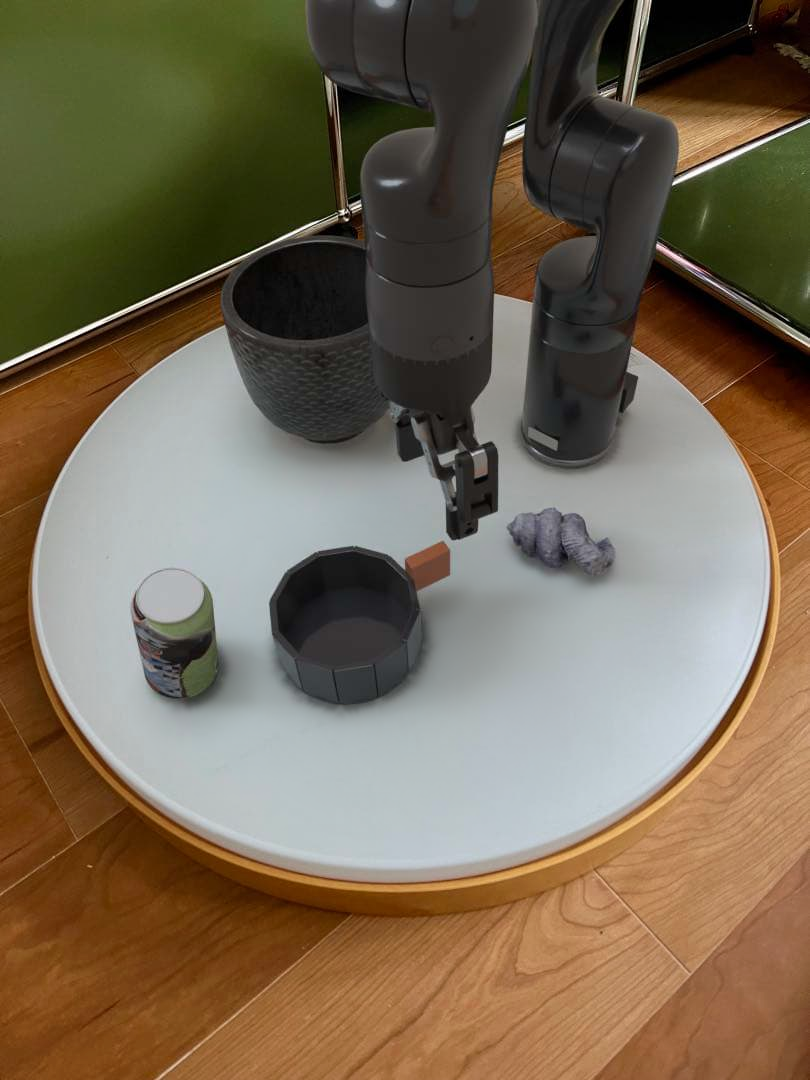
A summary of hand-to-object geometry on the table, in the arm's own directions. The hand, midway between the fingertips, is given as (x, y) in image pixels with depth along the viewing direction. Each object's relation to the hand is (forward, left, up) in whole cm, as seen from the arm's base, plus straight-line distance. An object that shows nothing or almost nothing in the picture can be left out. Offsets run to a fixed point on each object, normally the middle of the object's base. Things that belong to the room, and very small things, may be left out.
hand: (436, 493), depth 66 cm
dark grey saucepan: (+5, -4, -15) cm, 17 cm away
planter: (-14, -23, -16) cm, 31 cm away
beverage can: (+17, -13, -16) cm, 27 cm away
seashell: (-11, +6, -16) cm, 20 cm away
